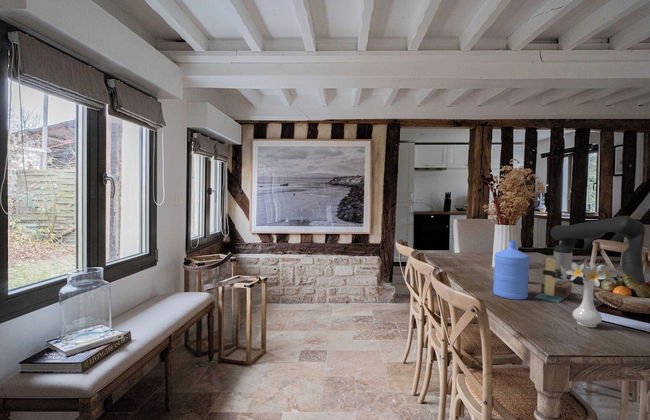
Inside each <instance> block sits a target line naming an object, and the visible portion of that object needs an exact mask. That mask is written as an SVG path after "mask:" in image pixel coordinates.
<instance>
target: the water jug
mask: <svg viewBox="0 0 650 420" xmlns="http://www.w3.org/2000/svg"><path fill="white" fill-rule="evenodd" d="M516 243H517V240H513V239H512V240H511V239H510V240H508V248H506V249H502V250H501V251H497V252H495V253H494V268H493V271H494V272H493V288H492V291H493V292H492V293H493V294H494V295H495V296H498V297H500V298H504V299H509V300H515V301H517V300H519V301H520V300H521V301H522V300H526V299H527V298H528V297H529V281H530V275H529V273H530V263H531V262H530V256H529V255H528V254H526V253H525V252H522V251H521V250H518V249H517V244H516Z"/></svg>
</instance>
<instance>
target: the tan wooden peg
mask: <svg viewBox="0 0 650 420" xmlns="http://www.w3.org/2000/svg"><path fill="white" fill-rule="evenodd" d="M544 270H548V271H556V272H557V258H554V257H546V258H545V268H544ZM555 275H556V276H557V274H555ZM556 279H557V278H553V277H552V276H550V275H544V282H545V289H544V294H545V295H551V296H554V295H556V282H557V281H556Z"/></svg>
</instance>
